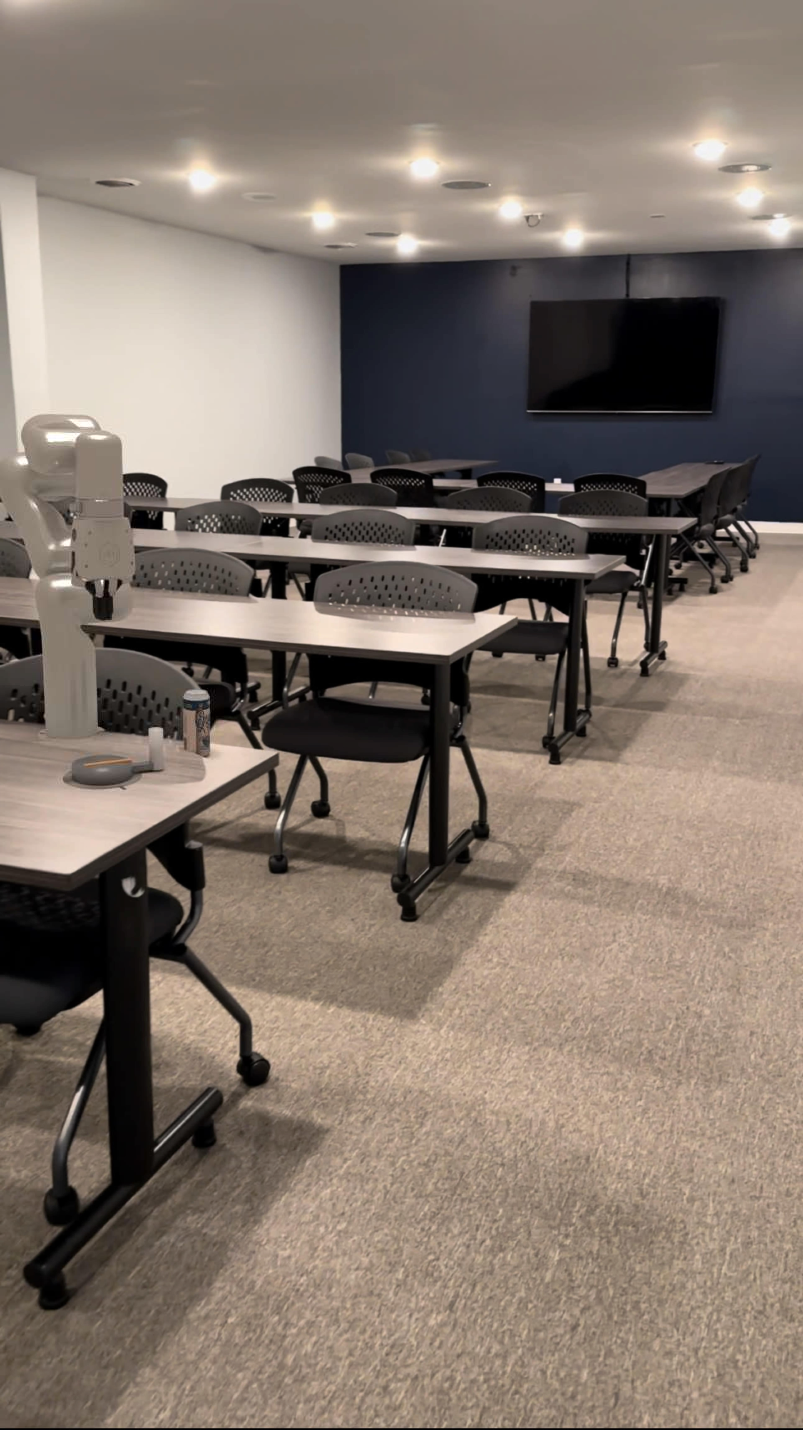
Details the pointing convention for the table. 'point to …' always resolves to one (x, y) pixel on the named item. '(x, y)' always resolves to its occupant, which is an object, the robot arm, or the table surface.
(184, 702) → the beer can
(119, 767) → the dial
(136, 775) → the board
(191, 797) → the table surface
